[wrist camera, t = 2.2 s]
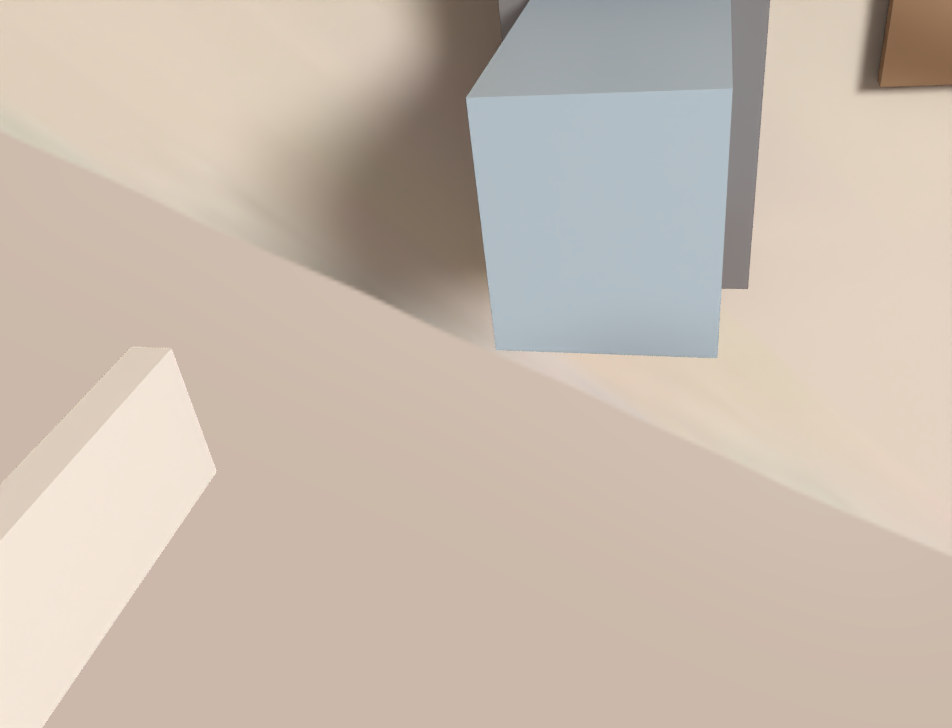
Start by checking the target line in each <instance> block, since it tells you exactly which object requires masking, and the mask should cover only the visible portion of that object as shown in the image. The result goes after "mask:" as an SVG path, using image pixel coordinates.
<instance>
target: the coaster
mask: <svg viewBox="0 0 952 728" xmlns="http://www.w3.org/2000/svg"><path fill="white" fill-rule="evenodd" d="M878 83H879V85H880V87H895V86H925V85H952V0H890V1H889V8H888V15H887V21H886V28H885V34H884V41H883V48H882V54H881V61H880V68H879V74H878Z"/></svg>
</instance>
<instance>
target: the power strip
mask: <svg viewBox="0 0 952 728" xmlns="http://www.w3.org/2000/svg"><path fill="white" fill-rule="evenodd" d="M529 1H530V0H498V3H499V13H500V24H501V35H502V42H503V40H504V39H505V37H506V36H507V34H508V33H509V31H510V30H511V28H512V27H513V25H514V24H515V22H516V21H517V19H518V17H519V16H520V14H521V13H522V11H523V10H524V8H525V7H526V5H527V4H528V2H529ZM769 8H770V0H731V28H732V76H733V93H732V111H731V128H730V146H729V163H728V181H727V198H726V216H725V233H724V251H723V268H722V286H721V289H748V280H749V267H750V254H751V241H752V228H753V215H754V202H755V189H756V176H757V163H758V150H759V137H760V124H761V111H762V98H763V85H764V72H765V59H766V46H767V34H768V21H769Z"/></svg>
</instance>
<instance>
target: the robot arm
mask: <svg viewBox="0 0 952 728" xmlns="http://www.w3.org/2000/svg"><path fill="white" fill-rule="evenodd" d="M216 472H217V471H216V468H215V465H214V462H213V460H212V457H211V454H210V452H209V449H208V446H207V443H206V441H205V438H204V435H203V432H202V430H201V427H200V424H199V422H198V419H197V416H196V413H195V411H194V408H193V405H192V403H191V400H190V397H189V394H188V392H187V389H186V386H185V384H184V381H183V378H182V376H181V373H180V370H179V368H178V364H177V362H176V359H175V356H174V354H173V351H172V349H171V348H156V347H133V346H132V347H131V348H130V349H129V350H128V351H127V352H126V353H125V354H124V355H123V356H122V357H121V358H120V359H119V360H118V362H116V363H115V364H114V365H113V366H112V368H110V370H109V371H108V372H107V373H106V374H105V375H104V376H103V377H102V378H101V379H100V380H99V381H98V382H97V383H96V384H95V385H94V386H93V387H92V388H91V389H90V390H89V391H88V393H87V394H86V395H85V396H84V397H83V398H82V399H81V400H80V401H79V402H78V403H77V404H76V405H75V406H74V407H73V408H72V409H71V410H70V411H69V412H68V414H67V415H66V416H65V417H64V418H63V419H62V420H61V421H60V422H59V423H58V424H57V425H56V426H55V427H54V428H53V429H52V430H51V431H50V432H49V434H47V436H46V437H45V438H44V439H43V440H42V441H41V442H40V443H39V444H38V445H37V446H36V447H35V448H34V449H33V450H32V451H31V452H30V453H29V454H28V455H27V456H26V457H25V458H24V460H23V461H22V462H21V463H20V464H19V465H18V466H17V467H16V468H15V469H14V470H13V471H12V472H11V473H10V474H9V475H8V476H7V477H6V478H5V479H4V480H3V481H2V483H1V484H0V728H42V727H43V726H44V724H45V723H46V721H47V720H48V718H49V717H50V715H51V714H52V712H53V711H54V709H55V708H56V706H57V705H58V704H59V702H60V701H61V699H62V698H63V696H64V695H65V693H66V692H67V690H68V689H69V687H70V686H71V685H72V683H73V681H74V680H75V679H76V677H77V676H78V674H79V673H80V671H81V670H82V668H83V667H84V666H85V664H86V662H87V661H88V659H89V658H90V657H91V655H92V654H93V652H94V651H95V649H96V648H97V646H98V645H99V643H100V642H101V640H102V639H103V637H104V636H105V635H106V633H107V632H108V630H109V629H110V627H111V626H112V625H113V623H114V622H115V620H116V619H117V617H118V616H119V614H120V613H121V611H122V610H123V608H124V607H125V605H126V604H127V602H128V601H129V600H130V598H131V597H132V595H133V594H134V592H135V591H136V589H137V588H138V586H139V585H140V584H141V582H142V581H143V579H144V578H145V576H146V575H147V573H148V572H149V570H150V569H151V567H152V566H153V564H154V563H155V562H156V560H157V559H158V557H159V556H160V554H161V553H162V551H163V550H164V548H165V547H166V545H167V544H168V543H169V541H170V540H171V538H172V537H173V535H174V534H175V532H176V531H177V529H178V528H179V526H180V525H181V523H182V522H183V521H184V519H185V518H186V516H187V515H188V513H189V512H190V510H191V509H192V507H193V506H194V504H195V503H196V502H197V500H198V498H199V497H200V496H201V494H202V493H203V491H204V490H205V488H206V487H207V485H208V484H209V483H210V481H211V480H212V478H213V477H214V475H215V474H216Z"/></svg>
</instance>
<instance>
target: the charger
mask: <svg viewBox="0 0 952 728" xmlns="http://www.w3.org/2000/svg"><path fill="white" fill-rule="evenodd" d="M732 93H733V76H732V28H731V0H530V1H529V2H528V4H527V5H526V7H525V8H524V10H523V11H522V13H521V14H520V16H519V17H518V19H517V21H516V22H515V24H514V25H513V27H512V28H511V30H510V31H509V33H508V34H507V36H506V37H505V39H504V40H503V42H502V43H501V45H500V46H499V48H498V50H497V51H496V53H495V54H494V56H493V57H492V59H491V60H490V62H489V63H488V65H487V66H486V68H485V69H484V71H483V72H482V74H481V75H480V77H479V78H478V80H477V82H476V83H475V85H474V86H473V88H472V89H471V91H470V92H469V94H468V95H467V97H466V103H467V111H468V120H469V128H470V137H471V145H472V153H473V162H474V170H475V178H476V187H477V195H478V203H479V212H480V220H481V228H482V237H483V245H484V253H485V262H486V270H487V278H488V287H489V295H490V303H491V312H492V320H493V328H494V337H495V345H496V350H509V351H536V352H563V353H590V354H617V355H644V356H671V357H698V358H717V356H718V339H719V321H720V304H721V286H722V268H723V251H724V233H725V216H726V198H727V181H728V163H729V146H730V128H731V111H732Z"/></svg>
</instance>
